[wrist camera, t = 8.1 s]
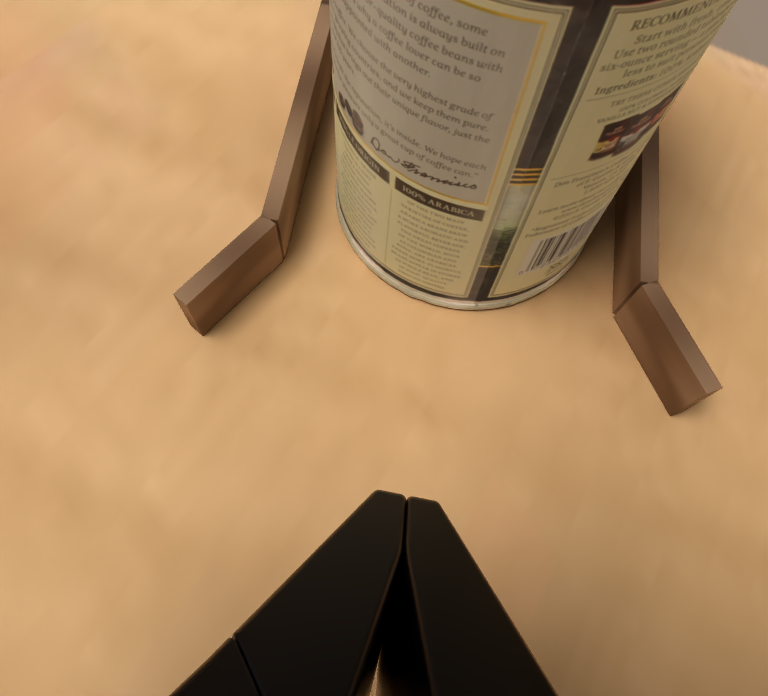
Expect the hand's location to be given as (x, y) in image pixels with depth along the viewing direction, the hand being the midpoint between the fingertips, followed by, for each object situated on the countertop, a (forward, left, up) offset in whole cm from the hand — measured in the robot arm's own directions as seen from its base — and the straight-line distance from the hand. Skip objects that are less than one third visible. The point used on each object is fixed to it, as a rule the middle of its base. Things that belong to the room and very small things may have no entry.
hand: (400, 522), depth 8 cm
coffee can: (+10, -11, -13) cm, 19 cm away
